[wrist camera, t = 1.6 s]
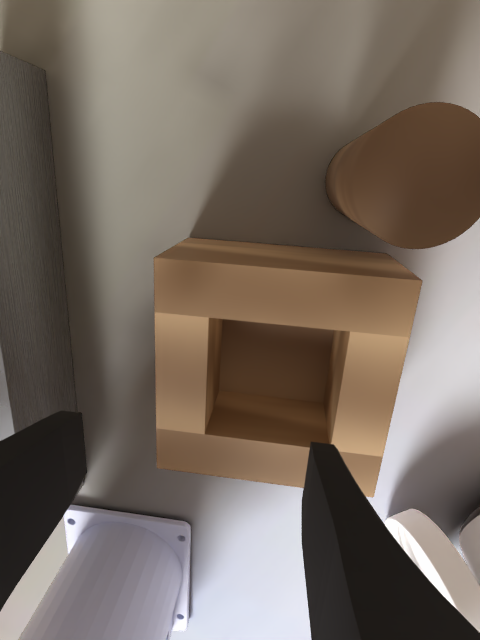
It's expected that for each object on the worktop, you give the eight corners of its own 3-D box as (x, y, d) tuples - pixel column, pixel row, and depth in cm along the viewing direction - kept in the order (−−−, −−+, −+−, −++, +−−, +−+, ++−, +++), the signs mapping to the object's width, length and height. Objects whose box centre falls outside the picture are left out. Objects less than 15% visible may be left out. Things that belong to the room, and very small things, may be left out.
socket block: (354, 425, 21) (373, 497, 16) (185, 404, 21) (156, 467, 17) (387, 253, 18) (422, 280, 13) (188, 237, 18) (153, 257, 14)
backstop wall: (83, 484, 24) (34, 557, 20) (52, 479, 24) (-4, 551, 20) (45, 70, 17) (-51, 28, 12) (0, 68, 17) (-111, 26, 12)
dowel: (395, 221, 17) (478, 254, 10) (320, 215, 17) (344, 243, 10) (411, 140, 16) (518, 106, 8) (330, 136, 16) (366, 99, 9)
